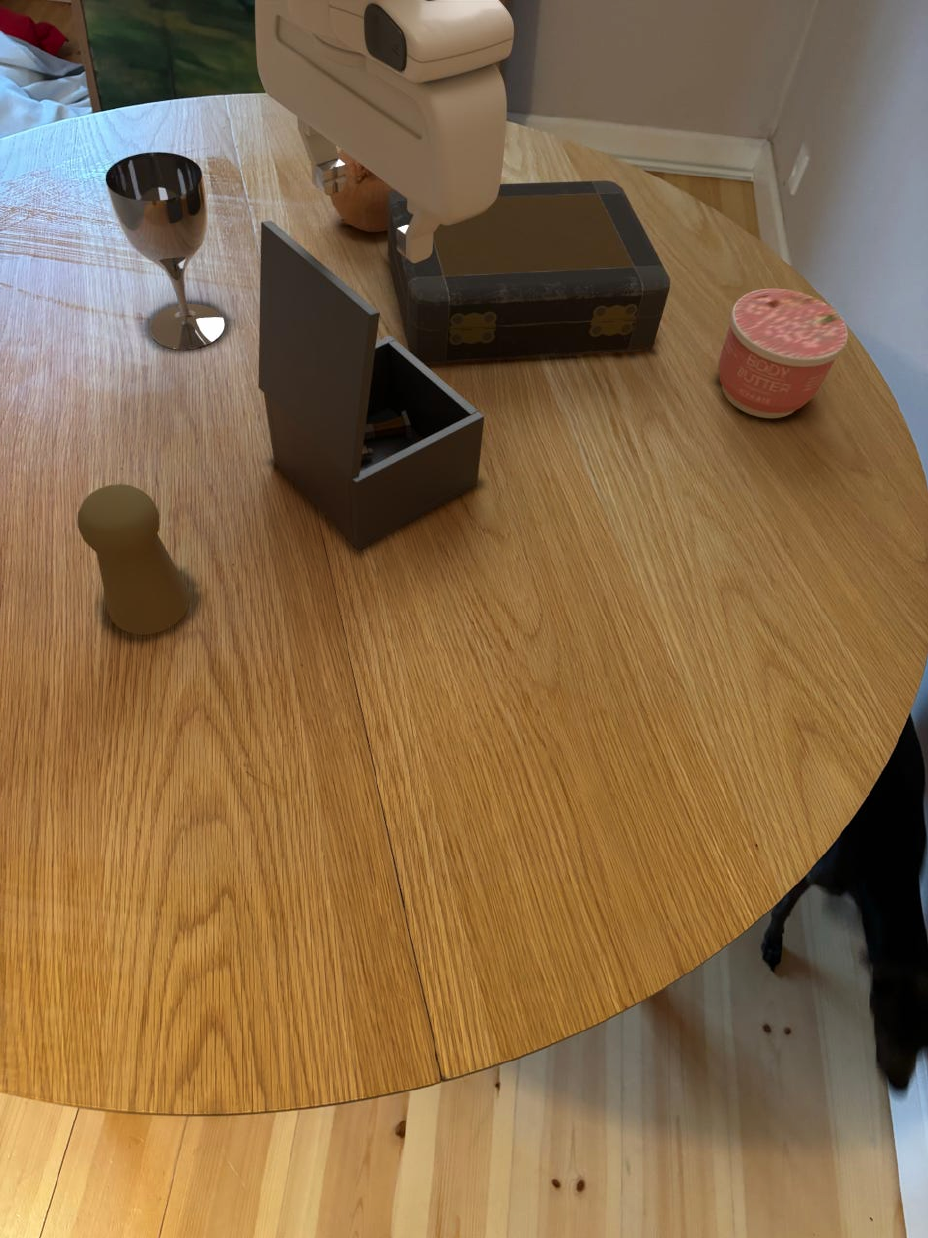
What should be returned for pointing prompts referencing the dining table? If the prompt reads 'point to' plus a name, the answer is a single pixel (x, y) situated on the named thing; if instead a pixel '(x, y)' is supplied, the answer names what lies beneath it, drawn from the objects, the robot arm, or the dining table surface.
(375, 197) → the onion
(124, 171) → the wine glass
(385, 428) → the wooden post with brackets
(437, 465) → the box
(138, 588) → the pepper shaker
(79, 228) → the dining table surface
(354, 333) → the lid
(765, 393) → the container
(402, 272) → the jewelry box
